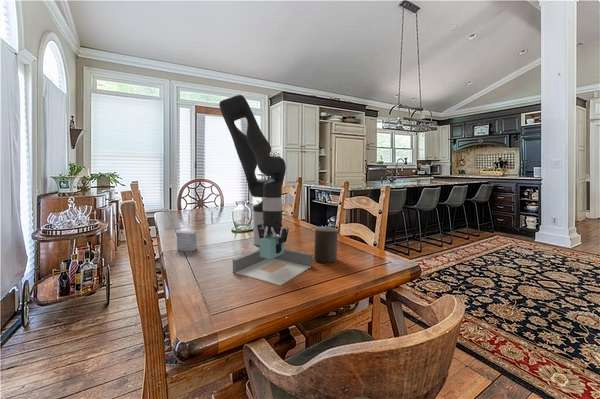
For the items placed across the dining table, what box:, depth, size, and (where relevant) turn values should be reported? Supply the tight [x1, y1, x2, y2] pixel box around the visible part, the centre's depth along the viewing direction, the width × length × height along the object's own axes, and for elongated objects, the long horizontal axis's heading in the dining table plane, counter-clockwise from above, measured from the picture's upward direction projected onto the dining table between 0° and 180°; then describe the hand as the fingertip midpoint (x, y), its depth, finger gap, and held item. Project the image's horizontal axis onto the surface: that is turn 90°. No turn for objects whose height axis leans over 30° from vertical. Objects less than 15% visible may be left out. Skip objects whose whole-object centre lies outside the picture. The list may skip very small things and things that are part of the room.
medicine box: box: [175, 230, 198, 252], centre depth 133 cm, size 8×4×9 cm, turn 84°
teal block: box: [259, 234, 285, 259], centre depth 109 cm, size 5×9×7 cm, turn 148°
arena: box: [232, 248, 314, 287], centre depth 109 cm, size 22×22×5 cm
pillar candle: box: [313, 226, 339, 264], centre depth 120 cm, size 10×10×15 cm
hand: (272, 251), depth 110 cm, fingers closed on teal block, 5 cm apart
